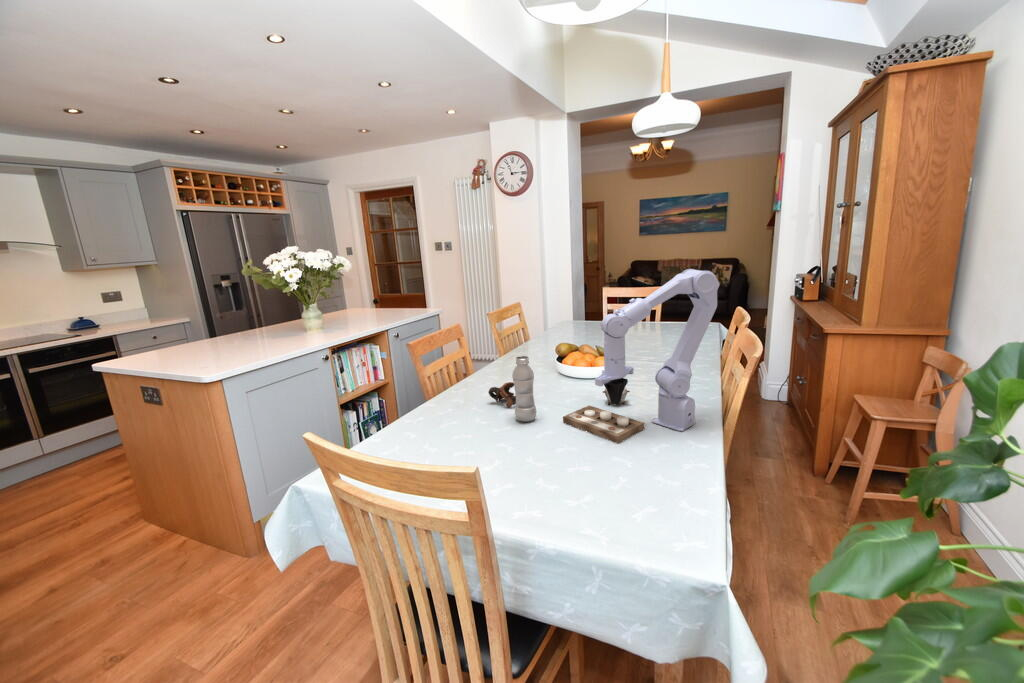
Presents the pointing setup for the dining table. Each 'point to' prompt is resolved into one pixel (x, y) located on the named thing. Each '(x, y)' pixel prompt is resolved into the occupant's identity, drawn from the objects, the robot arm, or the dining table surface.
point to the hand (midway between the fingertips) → (615, 403)
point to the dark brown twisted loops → (503, 394)
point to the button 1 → (589, 412)
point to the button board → (603, 424)
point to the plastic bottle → (524, 390)
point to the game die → (621, 397)
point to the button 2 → (622, 422)
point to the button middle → (605, 416)
